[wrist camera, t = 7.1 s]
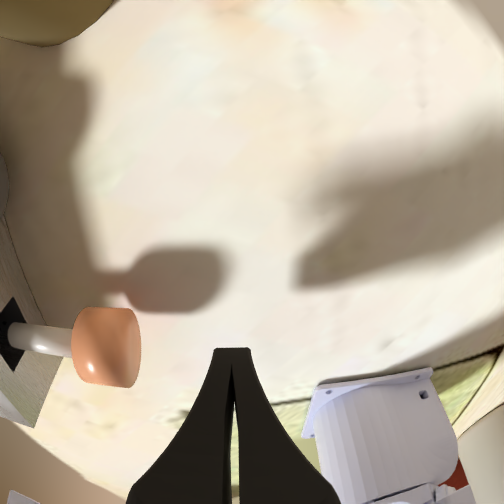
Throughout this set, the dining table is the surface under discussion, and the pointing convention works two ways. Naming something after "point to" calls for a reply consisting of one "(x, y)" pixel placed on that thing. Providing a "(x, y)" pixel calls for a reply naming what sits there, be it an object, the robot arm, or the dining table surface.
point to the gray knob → (3, 185)
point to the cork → (48, 19)
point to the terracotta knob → (90, 344)
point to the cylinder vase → (485, 457)
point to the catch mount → (17, 360)
